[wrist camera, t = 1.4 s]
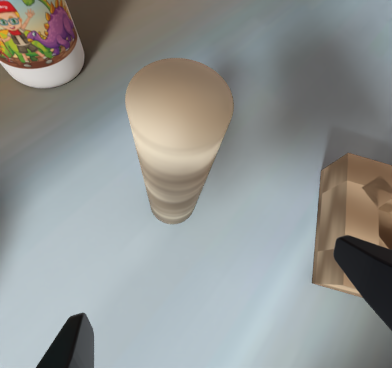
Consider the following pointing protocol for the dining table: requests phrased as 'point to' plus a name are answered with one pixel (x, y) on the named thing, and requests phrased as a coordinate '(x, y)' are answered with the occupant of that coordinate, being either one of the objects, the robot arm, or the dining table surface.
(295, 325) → the dining table surface
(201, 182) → the dowel pin
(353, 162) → the socket block
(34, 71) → the milk bottle
